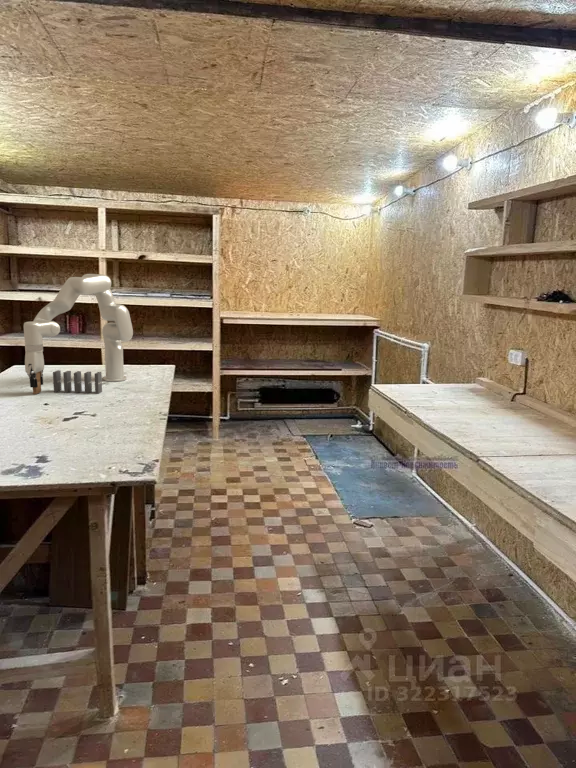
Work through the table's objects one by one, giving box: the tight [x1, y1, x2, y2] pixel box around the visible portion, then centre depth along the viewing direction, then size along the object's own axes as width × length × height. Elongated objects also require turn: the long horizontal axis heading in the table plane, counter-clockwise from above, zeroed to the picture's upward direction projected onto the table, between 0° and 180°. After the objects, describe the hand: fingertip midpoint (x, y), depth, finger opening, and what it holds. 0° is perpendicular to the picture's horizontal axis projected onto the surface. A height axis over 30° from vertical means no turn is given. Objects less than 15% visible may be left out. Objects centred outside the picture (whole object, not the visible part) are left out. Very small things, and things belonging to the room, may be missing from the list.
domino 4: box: [73, 370, 83, 394], centre depth 250 cm, size 2×5×10 cm, turn 1°
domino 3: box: [62, 370, 73, 394], centre depth 250 cm, size 2×5×10 cm, turn 1°
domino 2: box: [52, 369, 62, 393], centre depth 250 cm, size 2×5×10 cm, turn 1°
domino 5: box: [83, 371, 93, 395], centre depth 250 cm, size 2×5×10 cm, turn 1°
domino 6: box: [94, 371, 103, 395], centre depth 250 cm, size 2×5×10 cm, turn 1°
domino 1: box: [32, 372, 42, 395], centre depth 243 cm, size 2×5×10 cm, turn 1°
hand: (36, 385), depth 244 cm, fingers closed on domino 1, 4 cm apart
